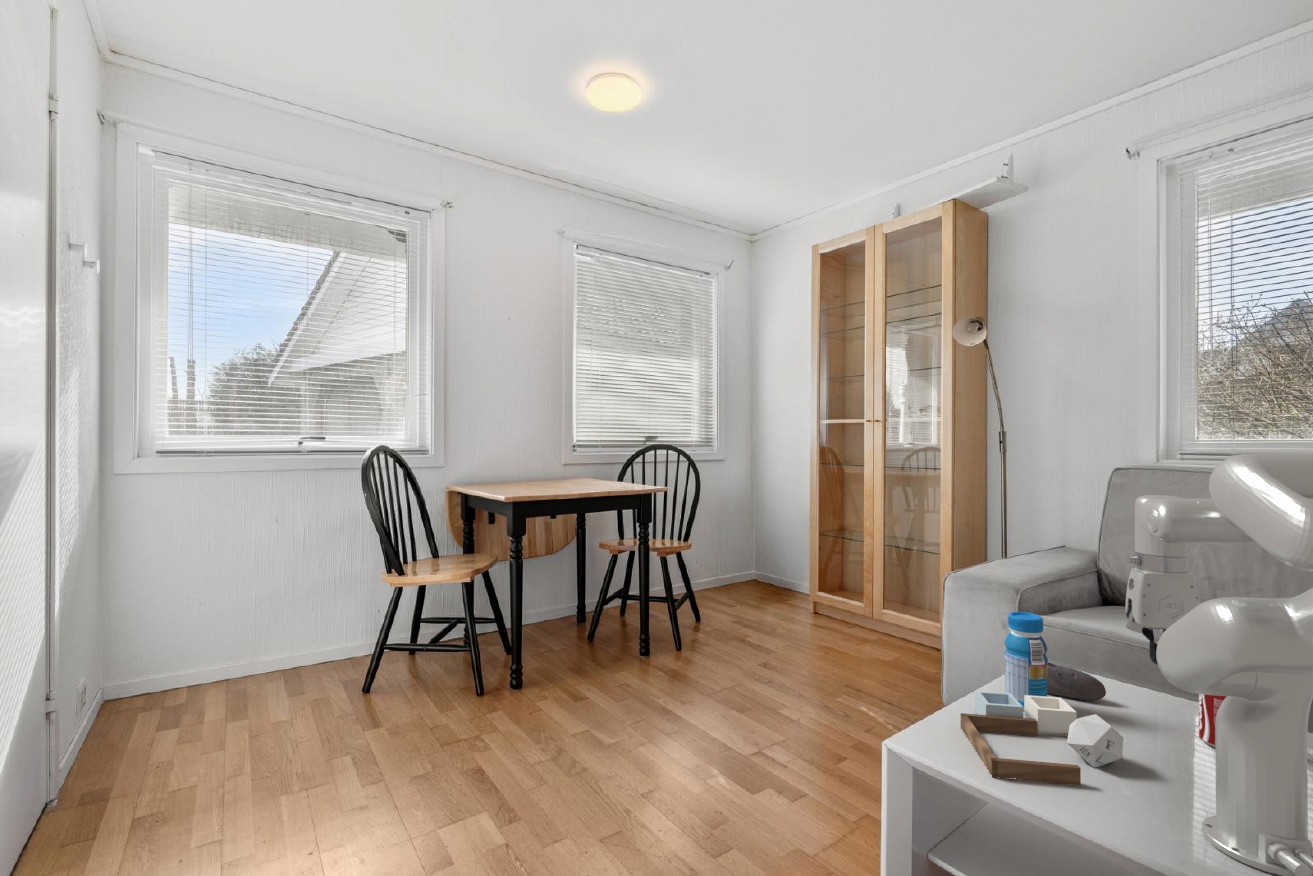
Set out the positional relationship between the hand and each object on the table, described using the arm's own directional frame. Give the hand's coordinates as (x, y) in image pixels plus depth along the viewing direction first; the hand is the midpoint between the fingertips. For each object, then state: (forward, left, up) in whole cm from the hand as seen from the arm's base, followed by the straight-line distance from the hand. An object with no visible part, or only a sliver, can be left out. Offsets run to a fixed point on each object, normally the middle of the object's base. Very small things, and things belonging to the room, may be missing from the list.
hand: (1161, 664), depth 112 cm
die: (0, +11, -19) cm, 22 cm away
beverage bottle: (+24, +14, -19) cm, 33 cm away
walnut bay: (0, +24, -19) cm, 31 cm away
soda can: (+11, -16, -19) cm, 27 cm away
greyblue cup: (+13, +23, -19) cm, 32 cm away
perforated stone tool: (+31, +3, -19) cm, 36 cm away
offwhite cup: (+13, +14, -19) cm, 26 cm away
